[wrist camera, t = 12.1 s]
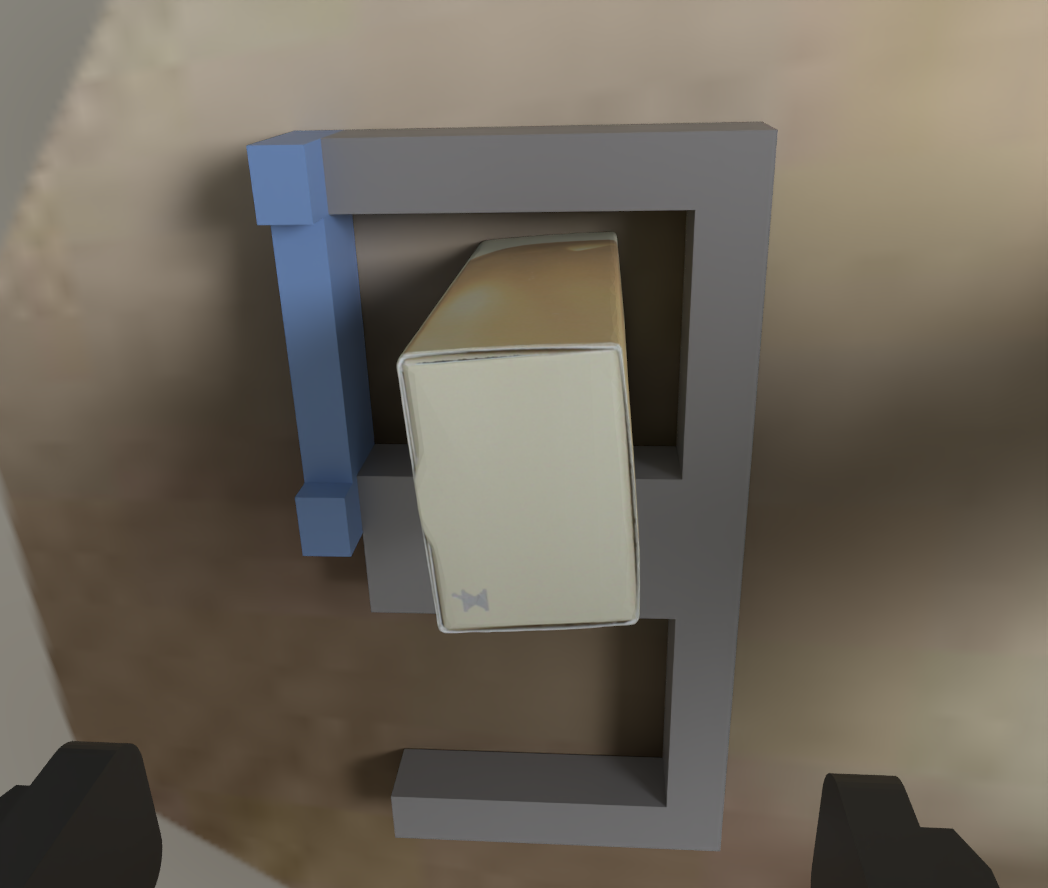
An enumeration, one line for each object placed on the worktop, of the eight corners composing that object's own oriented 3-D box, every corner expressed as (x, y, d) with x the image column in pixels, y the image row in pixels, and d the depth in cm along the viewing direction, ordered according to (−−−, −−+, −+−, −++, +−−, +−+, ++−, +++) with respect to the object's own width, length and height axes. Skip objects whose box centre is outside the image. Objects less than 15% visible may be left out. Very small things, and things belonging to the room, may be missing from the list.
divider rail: (762, 121, 26) (788, 135, 23) (712, 799, 36) (725, 885, 33) (293, 130, 27) (246, 145, 24) (371, 786, 37) (345, 868, 34)
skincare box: (630, 418, 30) (646, 643, 19) (497, 426, 31) (437, 650, 19) (618, 217, 28) (629, 340, 16) (473, 229, 28) (389, 358, 17)
